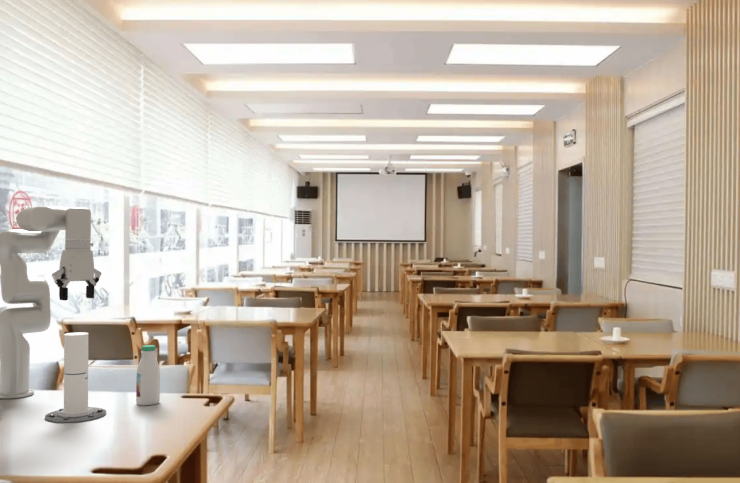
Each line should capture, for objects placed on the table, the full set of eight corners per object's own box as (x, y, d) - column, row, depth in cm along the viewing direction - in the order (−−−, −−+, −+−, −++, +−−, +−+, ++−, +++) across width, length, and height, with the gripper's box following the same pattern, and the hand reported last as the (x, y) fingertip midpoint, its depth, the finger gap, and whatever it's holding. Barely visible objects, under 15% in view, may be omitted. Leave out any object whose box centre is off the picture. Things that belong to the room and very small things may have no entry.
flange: (32, 417, 214) (32, 414, 214) (82, 406, 229) (82, 402, 229) (69, 425, 205) (69, 421, 205) (118, 413, 220) (118, 409, 220)
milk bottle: (163, 401, 238) (163, 344, 238) (154, 406, 231) (154, 347, 231) (142, 400, 239) (142, 343, 239) (132, 405, 231) (132, 347, 231)
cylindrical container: (58, 412, 216) (59, 334, 216) (77, 407, 222) (78, 331, 222) (74, 415, 212) (74, 335, 212) (92, 410, 219) (93, 333, 219)
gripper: (93, 245, 227) (92, 296, 227) (46, 245, 212) (45, 300, 212) (108, 246, 223) (107, 298, 223) (61, 246, 208) (60, 301, 208)
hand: (77, 299), depth 217 cm, fingers open, 9 cm apart
